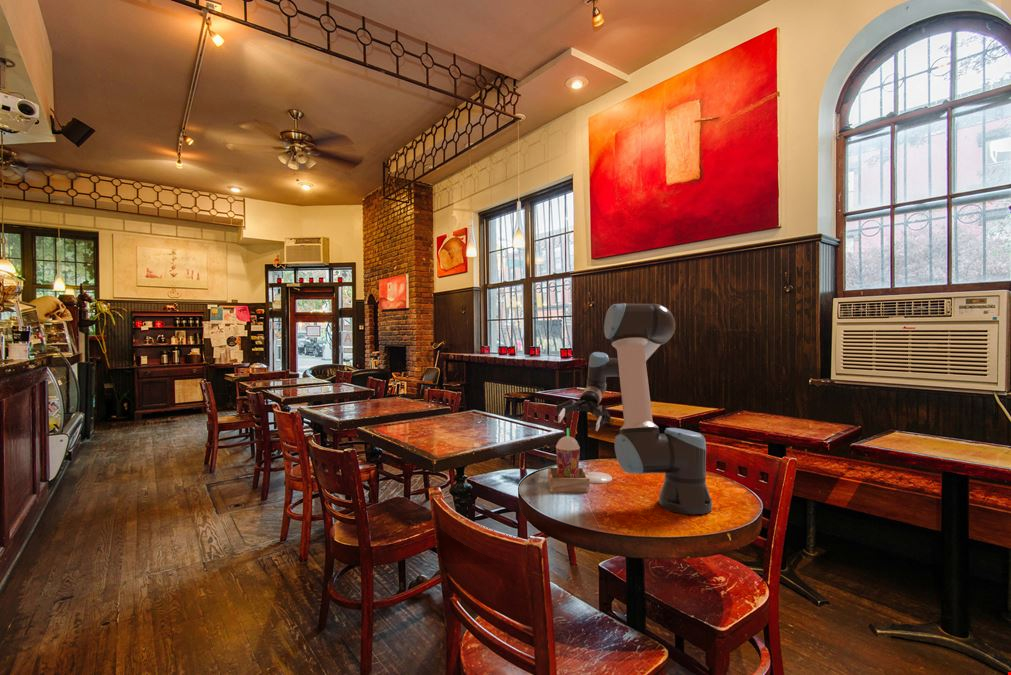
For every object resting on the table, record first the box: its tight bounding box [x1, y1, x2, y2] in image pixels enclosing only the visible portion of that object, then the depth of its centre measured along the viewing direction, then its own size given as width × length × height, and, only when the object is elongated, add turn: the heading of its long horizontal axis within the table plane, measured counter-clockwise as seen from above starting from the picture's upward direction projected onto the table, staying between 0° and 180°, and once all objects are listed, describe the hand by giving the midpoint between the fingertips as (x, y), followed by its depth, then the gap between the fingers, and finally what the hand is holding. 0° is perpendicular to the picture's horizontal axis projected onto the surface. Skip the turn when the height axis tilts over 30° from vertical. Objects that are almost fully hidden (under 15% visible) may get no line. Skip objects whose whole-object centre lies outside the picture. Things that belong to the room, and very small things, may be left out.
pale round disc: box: [586, 471, 613, 484], centre depth 170 cm, size 12×12×1 cm
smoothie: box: [555, 428, 581, 478], centre depth 161 cm, size 8×8×20 cm
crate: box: [547, 466, 590, 493], centre depth 161 cm, size 13×13×4 cm
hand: (577, 423), depth 164 cm, fingers open, 13 cm apart
